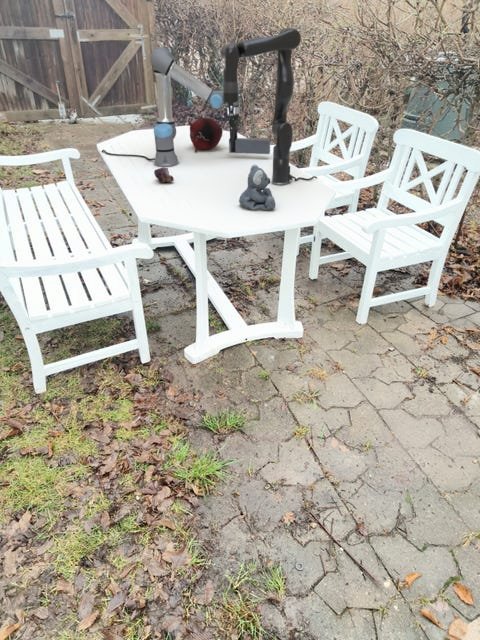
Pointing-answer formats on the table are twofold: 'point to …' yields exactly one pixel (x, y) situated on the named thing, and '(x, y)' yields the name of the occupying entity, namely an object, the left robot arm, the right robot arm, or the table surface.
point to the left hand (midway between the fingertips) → (234, 150)
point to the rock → (163, 175)
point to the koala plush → (257, 191)
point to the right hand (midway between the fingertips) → (231, 125)
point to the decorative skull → (205, 133)
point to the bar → (251, 146)
